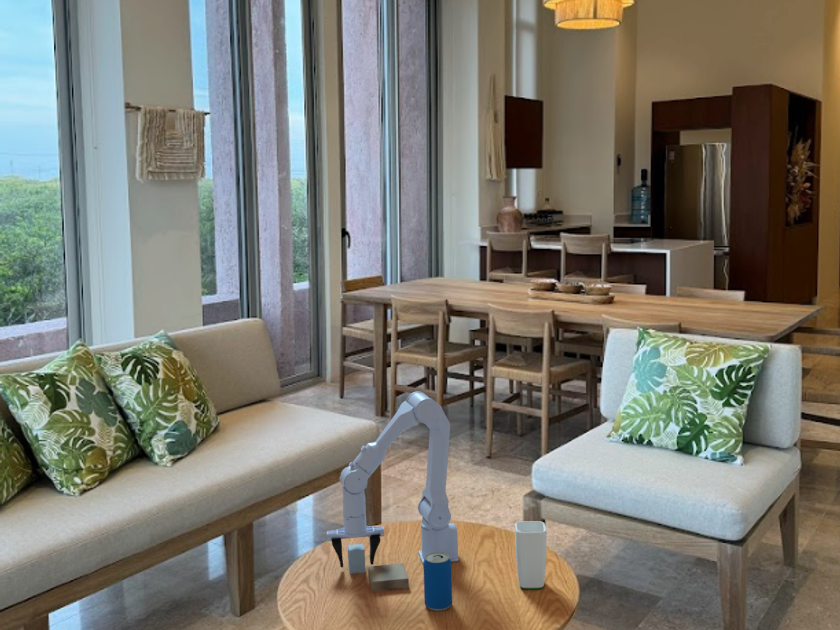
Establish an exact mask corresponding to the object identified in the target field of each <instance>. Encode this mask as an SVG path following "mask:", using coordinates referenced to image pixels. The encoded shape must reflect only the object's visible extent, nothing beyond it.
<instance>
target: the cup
mask: <svg viewBox="0 0 840 630" xmlns="http://www.w3.org/2000/svg"><path fill="white" fill-rule="evenodd" d="M514 540H515V541H514V543H515V545H514V546H515V558H516V569H517V570H516V571H517V577H518V583H519V587H521V588H522V589H529V590H531V589H534V590H537V589H541V588H543V587H544V585H545V577H546V569H547V567H546V566H547V527H546V523H545V522H543V521H539V520H536V521H535V520H534V521H533V520H529V521H528V520H526V521H525V520H523V521H522V520H521V521H517V522H515V524H514Z"/></svg>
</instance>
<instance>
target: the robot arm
mask: <svg viewBox="0 0 840 630" xmlns="http://www.w3.org/2000/svg"><path fill="white" fill-rule="evenodd" d="M418 422H421V423H422V424H424V425H426V427H427V428H428V429H429V438H428V452H427V464H426V466H427V467H426V477H425V478H426V480H425V487H424V489H423V491H422V496H421V498H420V500H419V502H418V505H417V510H418V513H419V515H420V516H421V517H422V518H421V522H420V534H421V535H420V537H421V539H420V541H421V550H420V549H419V550H418V555H419V557H420V560H421V563H422V564H423V562H424V560H425V556H426V555H427V554H429V553H433V552H442V553H446V554H448V555H449V559H450V560H451V563H452V562H458V561H459V559H460V558H459V540H458V539H459V536H458V528H457V524H456V523H454V522H451V520H452V513H451V511H450V508H449V498H448V495H447V492H446V490H447V489H446V488H447V475H448V461H449V450H450V448H449V447H450V435H451V423H450V421H449V419H448V417H447V415H446V414H445V412H444V410H443V407H442V406H441V404H439V403H438V402H437V401H436V400H434V399H432V398H431V397H430V396H428V395H427V394H426V393H424V392H422V391H419V390H418V391H414V392H412V393H410V394H409V395H408V397H407V398H406V400H404V401H403V402H401V404H400V406H399V407H398V409H397V411H396V412H395V413H394V415H393V417H392V418H391V420H390V421H389V422H388V423H387V425H386V426H385V428H384V429H383V430H382V432H380V434H379V436H378V437H377V438H376V440H375V441H372V442H367V444H366V445H362V446H361V448H360V452H359V453H358V455H357V456H356V457H355V459H354V460H353V461H351V462H349V464H348V466H346V467H345V468H344V469H342V471H341V472H340V476H339V482H340V484H341V485H342V511H343V513H342V514H343V527H342V528H341V527H340V528H338V529H334V530H333V529H332V530H327V531H326V541H327V542H331V545H332V548H333V549H334V551H335V553H336V555H337V558H338V560H339V567H340V568H344V561H343V560H344V559H343V545H342V543H343V542H342V540H344V539H345V540H346V539H356V538H357V539H358V538H367V537H369V540H368V541H369V563H370V566H374V561H375V556H376V552H377V550H378V547H379V545H380V543H381V537H385V528H384V526H383V525H381V526H373V525H372V526H370V525H369V526H368V525H367V513H366V512H367V511H366V510H367V509H366V494H365V489H367V486H368V482H369V480H368V479H369V478H370V477H371V476H372V475H373V474H374V472H375V471H376V470H377V469H378V467H379V466H380V465H381V463H382V462H383V461H384V460H385V459H386V450H387V449H388V448H389V447H390V446H391V445H392V443H394V441H395V440H396V439H397V438H398V437H400V434H402V432H404V430H405V429H406V428H410V427H416V426H419V423H418Z"/></svg>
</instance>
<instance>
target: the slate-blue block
mask: <svg viewBox="0 0 840 630" xmlns="http://www.w3.org/2000/svg"><path fill="white" fill-rule="evenodd" d="M365 550H366V549H365V546H364V543H359V544H358V543H357V544H348V545H347V560H348V562H347V563H348V572H349V574H350V575H352V574H362V573H366V554H365V553H366V551H365Z"/></svg>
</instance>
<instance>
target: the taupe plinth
mask: <svg viewBox="0 0 840 630" xmlns="http://www.w3.org/2000/svg"><path fill="white" fill-rule="evenodd" d="M367 571H368V572H367V573H368V581H369V585H370V589H371V593H375V592H376V593H377V592H378V593H379V592H388V591H396V590H397V591H399V590H407V589H409V588H410V584H409V583H410V581H409V576H408V574H407V570H406V567H405V564H404V563H403V562H402V563H394V564H393V563H391V564H381V565H380V564H379V565H369V566H367Z"/></svg>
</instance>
